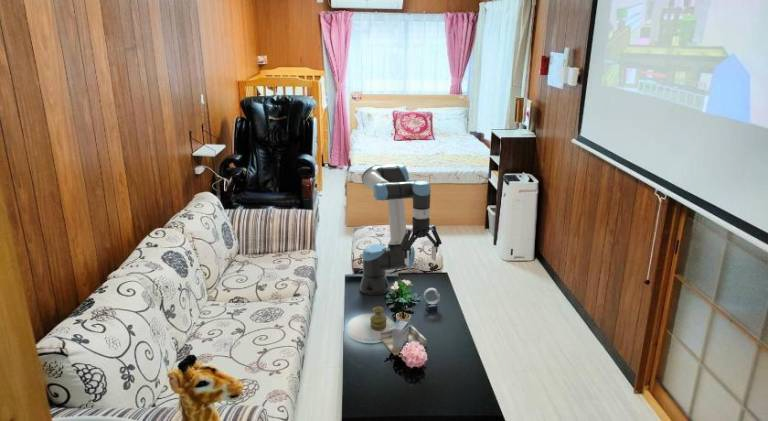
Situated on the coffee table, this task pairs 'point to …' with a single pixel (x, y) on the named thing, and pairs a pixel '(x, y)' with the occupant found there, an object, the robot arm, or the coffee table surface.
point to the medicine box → (400, 334)
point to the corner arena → (413, 336)
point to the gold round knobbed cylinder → (378, 319)
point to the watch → (432, 305)
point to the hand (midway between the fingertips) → (420, 262)
